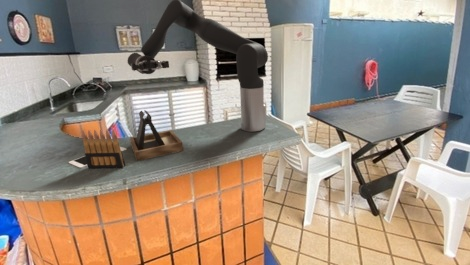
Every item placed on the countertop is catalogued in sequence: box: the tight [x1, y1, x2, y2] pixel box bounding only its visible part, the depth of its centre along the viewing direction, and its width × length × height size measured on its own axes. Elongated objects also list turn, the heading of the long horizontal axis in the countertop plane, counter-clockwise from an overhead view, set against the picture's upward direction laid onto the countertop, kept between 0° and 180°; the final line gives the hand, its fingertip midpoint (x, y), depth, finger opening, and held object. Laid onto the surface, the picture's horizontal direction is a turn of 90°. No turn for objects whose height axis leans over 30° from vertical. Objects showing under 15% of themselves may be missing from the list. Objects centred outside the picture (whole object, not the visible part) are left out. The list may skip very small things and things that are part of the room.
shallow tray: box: [129, 129, 184, 162], centre depth 87 cm, size 15×15×3 cm
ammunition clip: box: [81, 129, 126, 170], centre depth 72 cm, size 11×2×12 cm, turn 87°
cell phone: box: [68, 146, 128, 169], centre depth 83 cm, size 8×16×1 cm, turn 148°
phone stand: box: [135, 109, 165, 151], centre depth 84 cm, size 9×6×12 cm, turn 118°
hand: (154, 66), depth 94 cm, fingers open, 8 cm apart
